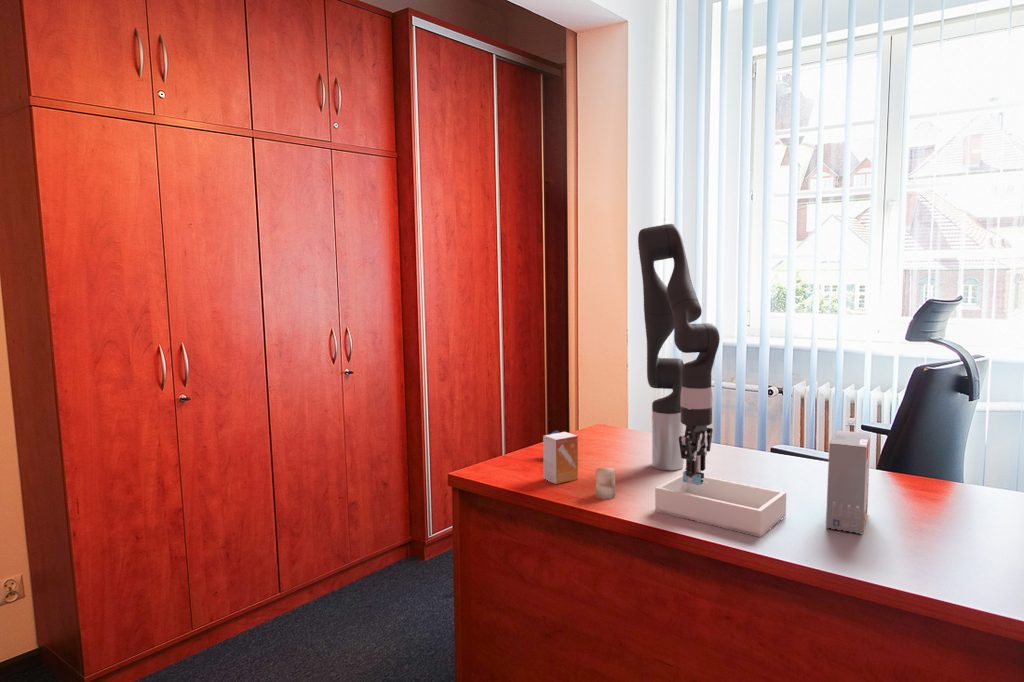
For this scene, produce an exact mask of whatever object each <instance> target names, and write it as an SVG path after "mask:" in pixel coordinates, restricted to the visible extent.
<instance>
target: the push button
mask: <svg viewBox="0 0 1024 682" xmlns="http://www.w3.org/2000/svg"><path fill="white" fill-rule="evenodd" d="M691 447H692V448H695V446H691ZM704 450H705V448H704V447H702V446H701V444H700V448H699V451H698V452H697V455H696V460H695V461H696V475H694V476H692V475H688V474H687V473H686V467H685V470H684V471H683V472H682V474H683V482H687V483H690V484H695V485H701V484H706V483H705V482H703V480H706V481H708V480H707V479H704V476H705V473H704V472H702V471H701V470H700V457H701V455H703V454H704ZM692 455H693V451H692ZM707 484H708V483H707Z"/></svg>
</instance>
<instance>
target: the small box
mask: <svg viewBox="0 0 1024 682" xmlns="http://www.w3.org/2000/svg"><path fill="white" fill-rule="evenodd" d="M549 434H550V433H549ZM578 438H579V436H578V435H577V434H574V433H570V432H567V431H562V432H560V433H555V434H550V435H548V434H546V435H545V434H544V435H542V444H543V445H542V449H543V452H542V453H543V454H542V455H543V461H542V462H543V463H542V465H543V480H545V479H546V480H545V481H547V480H548V482H550V483H552V484H555V485H558V484H562V483H566V482H572V481H576V479H577V480H578V479H579V475H578V474H579V473H578V471H579V464H578V462H579V460H578V459H579V457H578V455H579V454H578V453H579V452H578V451H579V449H578V445H579V444H578V441H579V439H578Z"/></svg>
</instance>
